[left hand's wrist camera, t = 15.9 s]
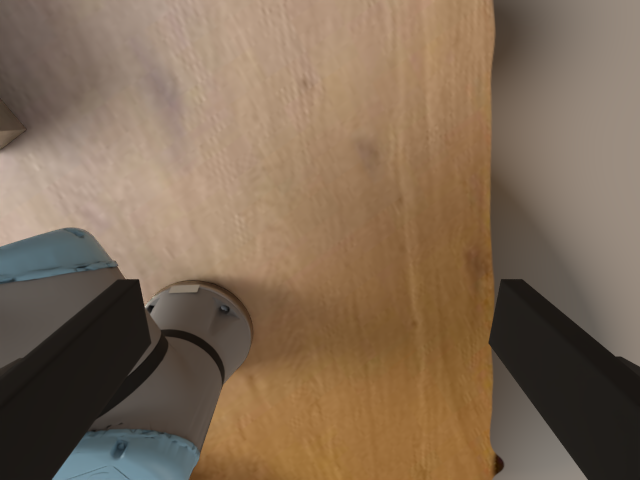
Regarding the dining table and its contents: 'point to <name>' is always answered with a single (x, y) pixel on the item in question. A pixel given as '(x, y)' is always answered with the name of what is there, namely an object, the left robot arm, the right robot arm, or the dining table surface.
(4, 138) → the bar
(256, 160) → the dining table surface
